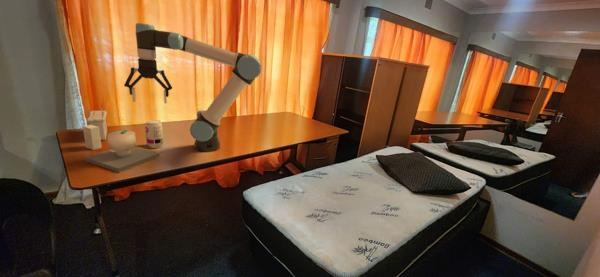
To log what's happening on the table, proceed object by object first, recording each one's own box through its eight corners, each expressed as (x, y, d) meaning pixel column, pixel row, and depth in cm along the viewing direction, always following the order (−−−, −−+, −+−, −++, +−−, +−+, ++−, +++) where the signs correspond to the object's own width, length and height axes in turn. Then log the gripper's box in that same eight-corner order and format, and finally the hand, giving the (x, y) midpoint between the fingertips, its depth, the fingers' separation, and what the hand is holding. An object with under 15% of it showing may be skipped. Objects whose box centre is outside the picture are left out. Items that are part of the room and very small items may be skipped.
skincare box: (102, 147, 129) (99, 126, 125) (93, 150, 125) (90, 128, 121) (94, 145, 131) (91, 124, 127) (85, 147, 127) (82, 126, 123)
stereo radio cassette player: (92, 130, 149) (87, 99, 143) (109, 130, 154) (105, 99, 147) (89, 142, 133) (83, 107, 127) (107, 141, 138) (103, 107, 132)
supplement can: (146, 149, 135) (144, 123, 130) (147, 143, 141) (145, 119, 137) (162, 148, 138) (161, 123, 134) (163, 143, 145) (161, 119, 140)
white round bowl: (130, 150, 115) (128, 136, 113) (103, 149, 113) (101, 135, 110) (140, 142, 125) (138, 129, 123) (116, 141, 123) (114, 128, 120)
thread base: (159, 156, 128) (158, 144, 126) (118, 172, 108) (117, 159, 106) (128, 147, 134) (127, 136, 132) (84, 160, 114) (82, 147, 112)
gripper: (176, 61, 123) (178, 101, 129) (118, 54, 113) (122, 99, 120) (175, 62, 116) (177, 104, 123) (113, 55, 106) (118, 102, 113)
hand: (150, 102), depth 121 cm, fingers open, 13 cm apart
